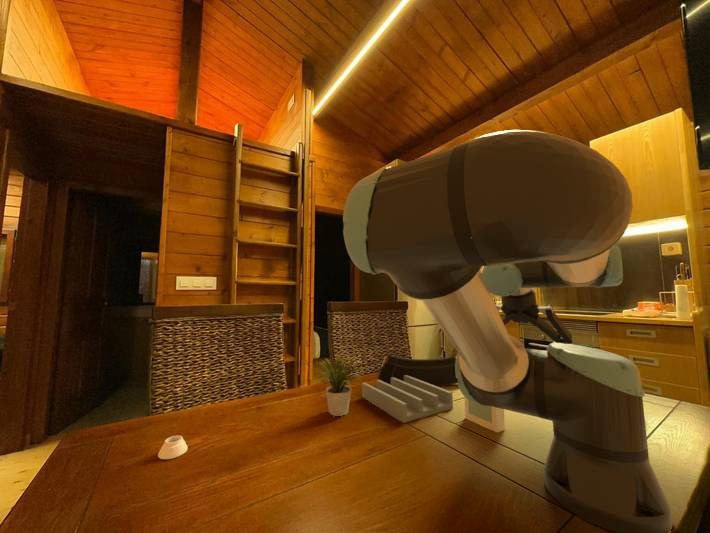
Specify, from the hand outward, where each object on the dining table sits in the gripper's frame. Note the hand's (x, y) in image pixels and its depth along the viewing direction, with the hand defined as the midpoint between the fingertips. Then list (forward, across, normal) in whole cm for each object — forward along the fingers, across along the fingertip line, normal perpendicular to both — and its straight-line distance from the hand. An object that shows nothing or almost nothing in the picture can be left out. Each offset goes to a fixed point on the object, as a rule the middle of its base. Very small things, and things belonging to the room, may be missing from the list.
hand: (526, 358), depth 76 cm
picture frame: (+8, +8, +18) cm, 21 cm away
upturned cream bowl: (-18, +52, +68) cm, 87 cm away
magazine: (+16, +34, +4) cm, 38 cm away
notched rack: (+8, +30, +19) cm, 36 cm away
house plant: (-1, +39, +36) cm, 54 cm away
